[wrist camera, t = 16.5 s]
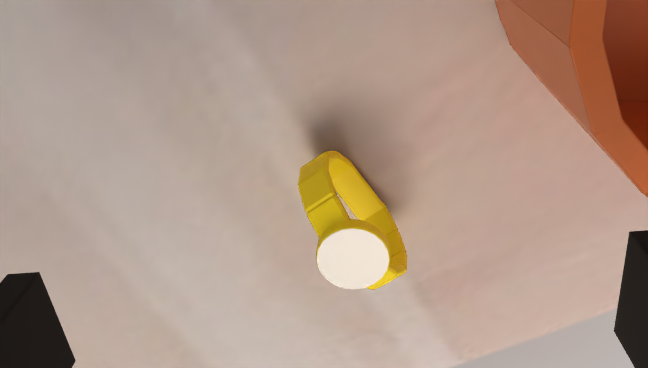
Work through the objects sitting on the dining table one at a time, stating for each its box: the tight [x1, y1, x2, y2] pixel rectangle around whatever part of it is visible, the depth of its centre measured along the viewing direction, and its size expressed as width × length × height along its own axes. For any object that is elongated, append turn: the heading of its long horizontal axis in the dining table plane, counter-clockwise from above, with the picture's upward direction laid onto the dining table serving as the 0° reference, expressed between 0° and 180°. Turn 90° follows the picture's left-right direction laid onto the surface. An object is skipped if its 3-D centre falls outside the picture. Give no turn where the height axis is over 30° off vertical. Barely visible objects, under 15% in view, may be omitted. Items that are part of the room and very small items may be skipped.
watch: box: [298, 151, 407, 290], centre depth 25 cm, size 6×3×6 cm, turn 37°
